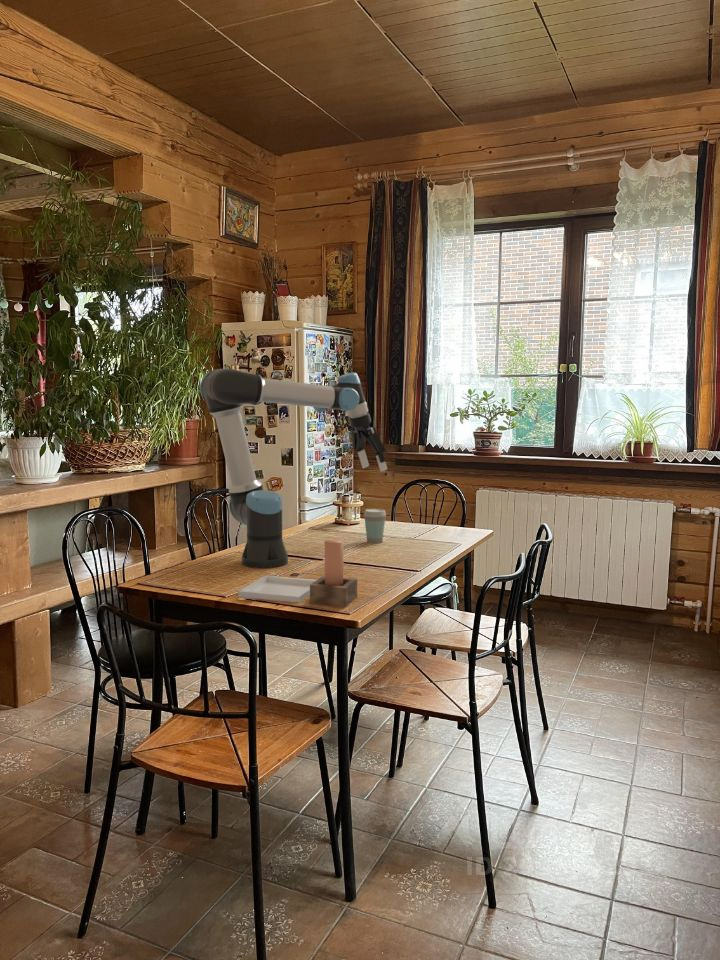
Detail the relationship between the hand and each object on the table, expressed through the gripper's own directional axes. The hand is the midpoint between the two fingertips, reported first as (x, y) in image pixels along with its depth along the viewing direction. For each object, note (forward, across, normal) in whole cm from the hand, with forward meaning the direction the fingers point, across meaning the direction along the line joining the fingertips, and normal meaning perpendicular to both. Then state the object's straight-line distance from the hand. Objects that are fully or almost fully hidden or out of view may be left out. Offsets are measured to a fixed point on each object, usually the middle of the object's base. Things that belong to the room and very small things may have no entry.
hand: (374, 468), depth 275 cm
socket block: (+11, -65, +56) cm, 86 cm away
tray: (+8, -50, +64) cm, 82 cm away
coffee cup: (+27, +1, +8) cm, 28 cm away
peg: (+10, -65, +56) cm, 86 cm away
